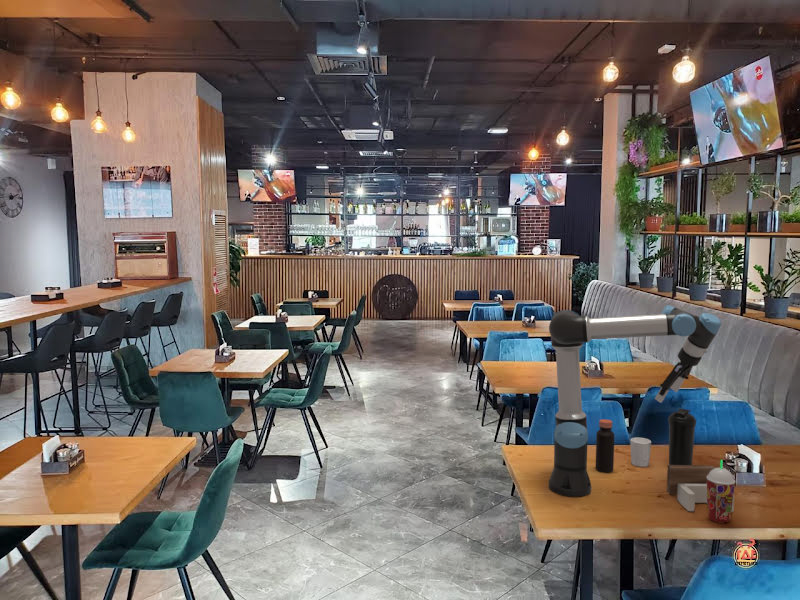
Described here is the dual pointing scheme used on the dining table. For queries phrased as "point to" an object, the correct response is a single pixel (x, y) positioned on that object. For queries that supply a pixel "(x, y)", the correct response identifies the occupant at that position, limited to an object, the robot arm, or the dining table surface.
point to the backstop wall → (686, 476)
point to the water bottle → (681, 437)
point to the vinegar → (605, 447)
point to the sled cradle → (693, 495)
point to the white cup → (640, 451)
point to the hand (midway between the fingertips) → (665, 395)
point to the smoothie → (720, 494)
